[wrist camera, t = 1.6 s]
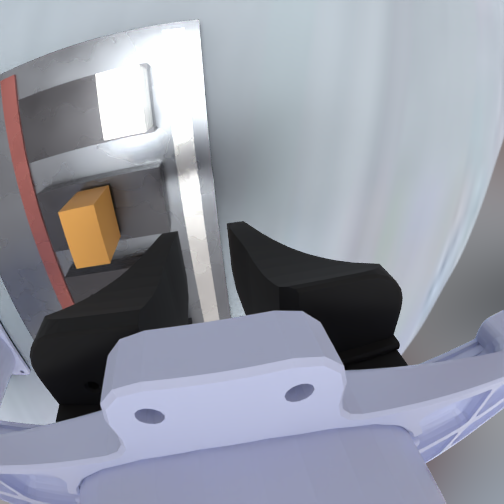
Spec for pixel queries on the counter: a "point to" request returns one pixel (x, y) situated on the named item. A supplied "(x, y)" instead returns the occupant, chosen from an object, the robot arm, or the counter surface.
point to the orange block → (90, 227)
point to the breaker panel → (108, 165)
